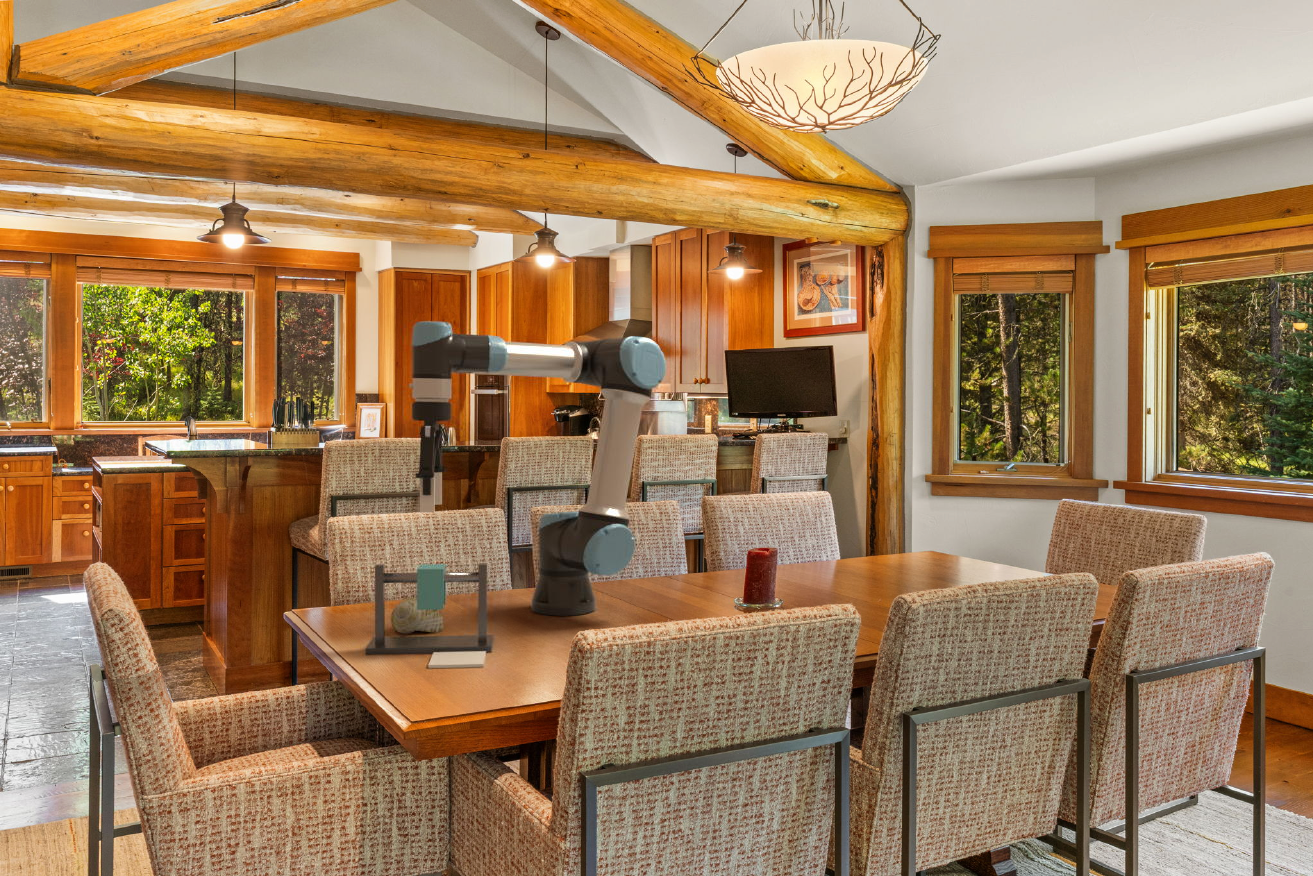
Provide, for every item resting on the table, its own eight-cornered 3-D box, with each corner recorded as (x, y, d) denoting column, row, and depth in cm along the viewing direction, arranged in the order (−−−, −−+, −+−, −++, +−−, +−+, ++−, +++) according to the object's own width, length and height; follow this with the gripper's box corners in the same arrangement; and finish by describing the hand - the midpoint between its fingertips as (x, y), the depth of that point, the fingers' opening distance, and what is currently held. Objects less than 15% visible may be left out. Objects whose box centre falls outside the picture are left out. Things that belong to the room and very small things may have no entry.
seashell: (452, 623, 212) (443, 586, 207) (431, 653, 204) (421, 615, 199) (411, 616, 215) (402, 580, 210) (388, 646, 207) (378, 609, 202)
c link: (445, 603, 196) (445, 564, 196) (443, 609, 191) (443, 569, 190) (420, 603, 196) (420, 564, 195) (416, 609, 190) (417, 569, 190)
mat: (485, 654, 189) (486, 651, 189) (483, 667, 180) (483, 664, 180) (433, 655, 188) (433, 652, 188) (428, 668, 179) (428, 665, 179)
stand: (493, 640, 199) (494, 560, 199) (491, 652, 190) (491, 567, 190) (373, 642, 196) (373, 561, 196) (365, 654, 188) (365, 569, 187)
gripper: (419, 400, 203) (419, 501, 204) (403, 400, 179) (402, 515, 179) (456, 400, 204) (455, 501, 205) (445, 401, 179) (444, 515, 180)
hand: (431, 508), depth 192 cm, fingers open, 13 cm apart
